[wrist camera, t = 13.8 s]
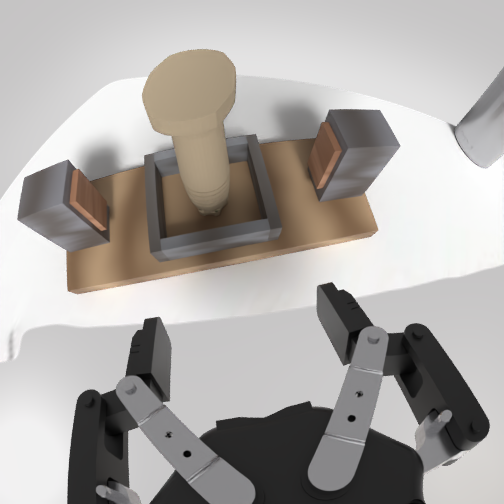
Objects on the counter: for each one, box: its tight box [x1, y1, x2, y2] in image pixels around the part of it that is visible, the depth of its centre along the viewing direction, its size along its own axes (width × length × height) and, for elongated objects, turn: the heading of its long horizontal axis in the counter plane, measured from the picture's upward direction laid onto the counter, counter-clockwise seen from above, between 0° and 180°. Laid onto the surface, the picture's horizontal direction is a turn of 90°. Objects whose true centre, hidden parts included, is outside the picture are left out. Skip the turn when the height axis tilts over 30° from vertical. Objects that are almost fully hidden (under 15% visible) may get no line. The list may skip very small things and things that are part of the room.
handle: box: [142, 49, 236, 216], centre depth 20 cm, size 5×6×15 cm
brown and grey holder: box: [17, 109, 400, 294], centre depth 23 cm, size 32×12×11 cm, turn 102°
